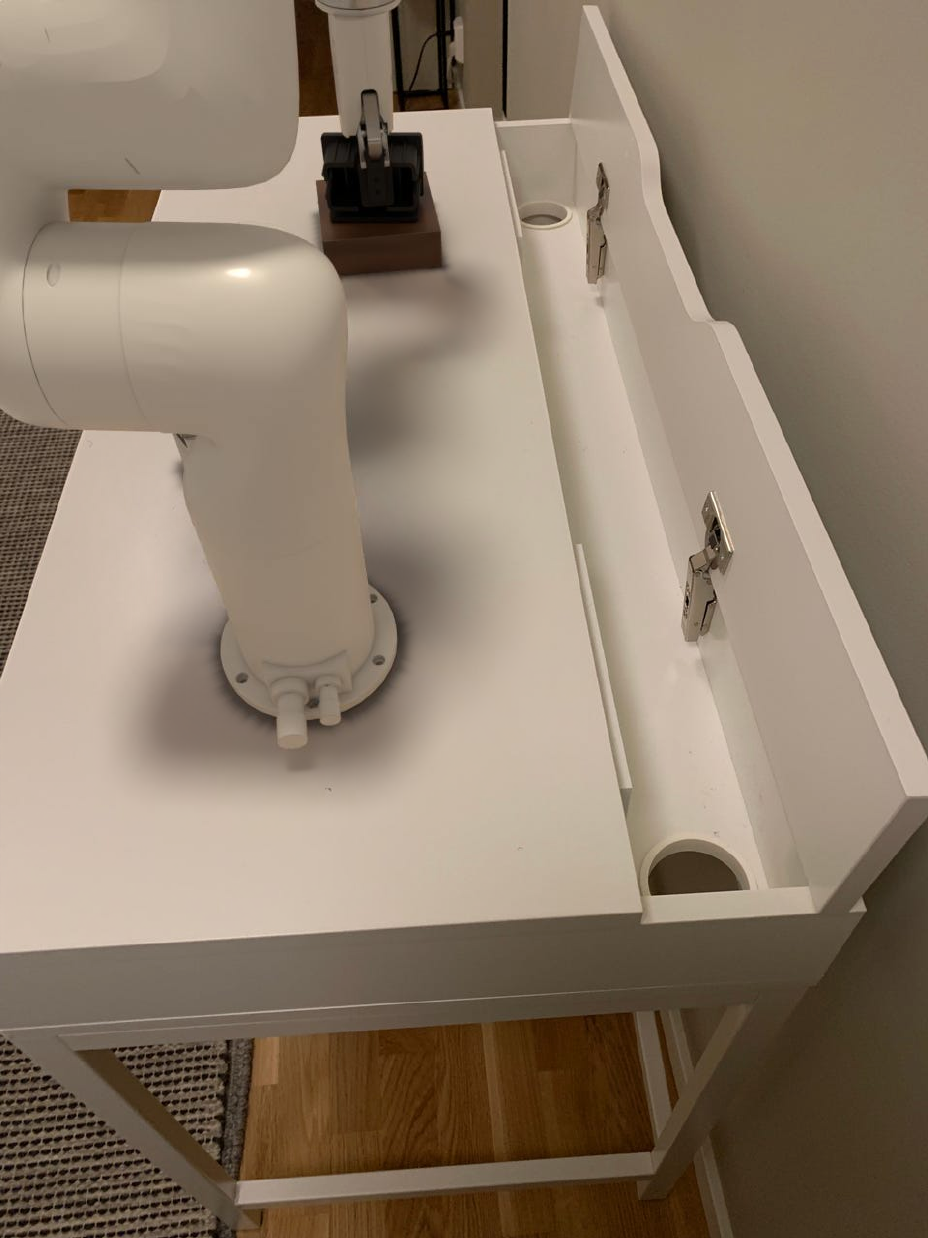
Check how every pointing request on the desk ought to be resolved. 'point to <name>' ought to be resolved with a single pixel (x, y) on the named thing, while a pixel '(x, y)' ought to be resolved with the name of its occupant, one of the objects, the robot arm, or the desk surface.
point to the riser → (381, 240)
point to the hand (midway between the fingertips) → (374, 181)
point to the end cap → (346, 185)
